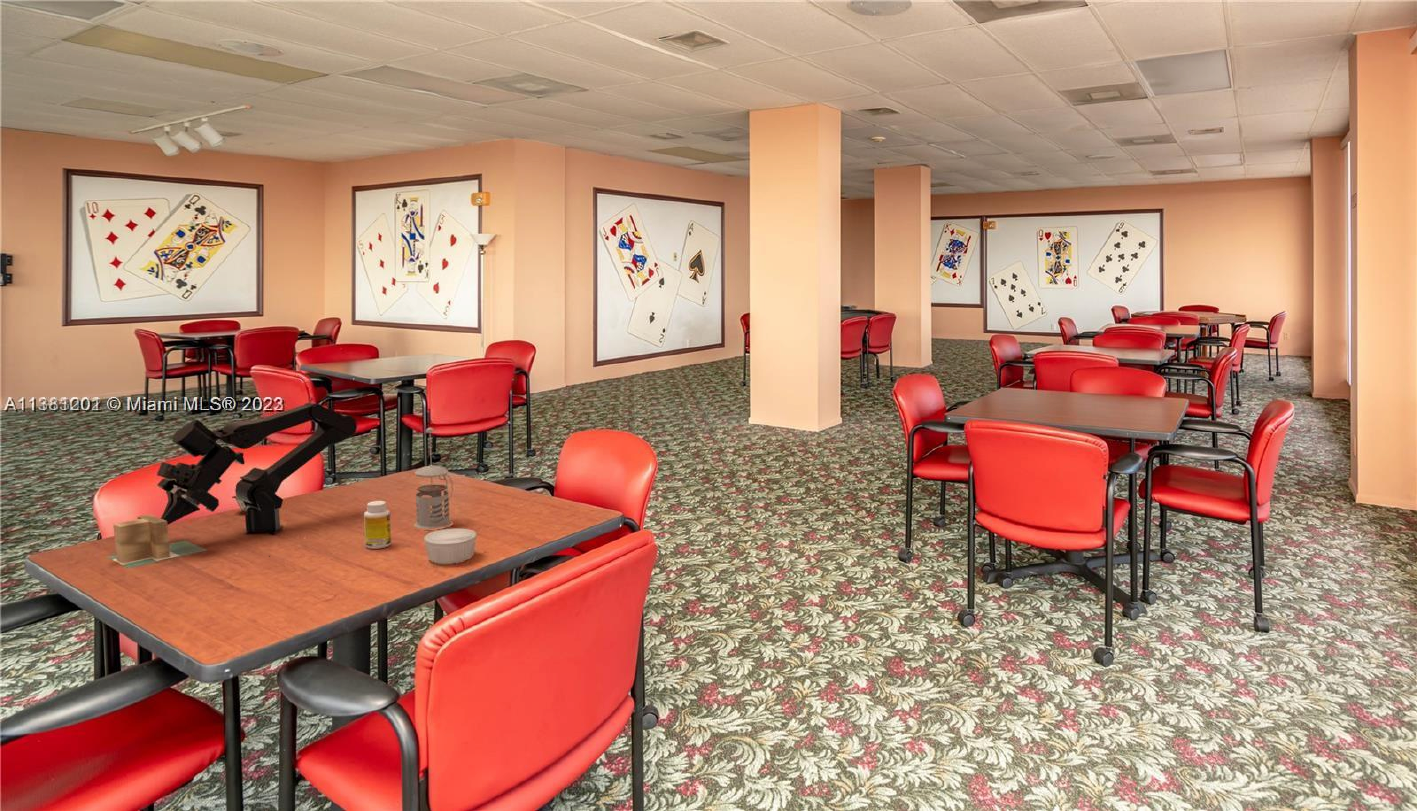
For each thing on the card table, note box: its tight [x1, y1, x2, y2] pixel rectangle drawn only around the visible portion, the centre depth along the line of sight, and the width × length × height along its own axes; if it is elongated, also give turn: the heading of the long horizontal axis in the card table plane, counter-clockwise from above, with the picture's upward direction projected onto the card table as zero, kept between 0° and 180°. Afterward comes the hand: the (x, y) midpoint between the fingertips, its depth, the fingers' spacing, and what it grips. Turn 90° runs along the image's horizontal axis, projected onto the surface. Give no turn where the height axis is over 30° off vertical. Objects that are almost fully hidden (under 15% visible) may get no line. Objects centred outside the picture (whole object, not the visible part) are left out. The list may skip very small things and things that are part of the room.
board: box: [107, 539, 207, 569], centre depth 185 cm, size 16×12×1 cm
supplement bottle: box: [363, 500, 392, 550], centre depth 193 cm, size 6×6×10 cm
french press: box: [413, 427, 454, 529], centre depth 210 cm, size 10×12×25 cm
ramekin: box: [423, 528, 478, 565], centre depth 185 cm, size 11×11×5 cm
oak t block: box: [113, 514, 170, 563], centre depth 182 cm, size 8×9×8 cm
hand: (160, 525), depth 185 cm, fingers closed
